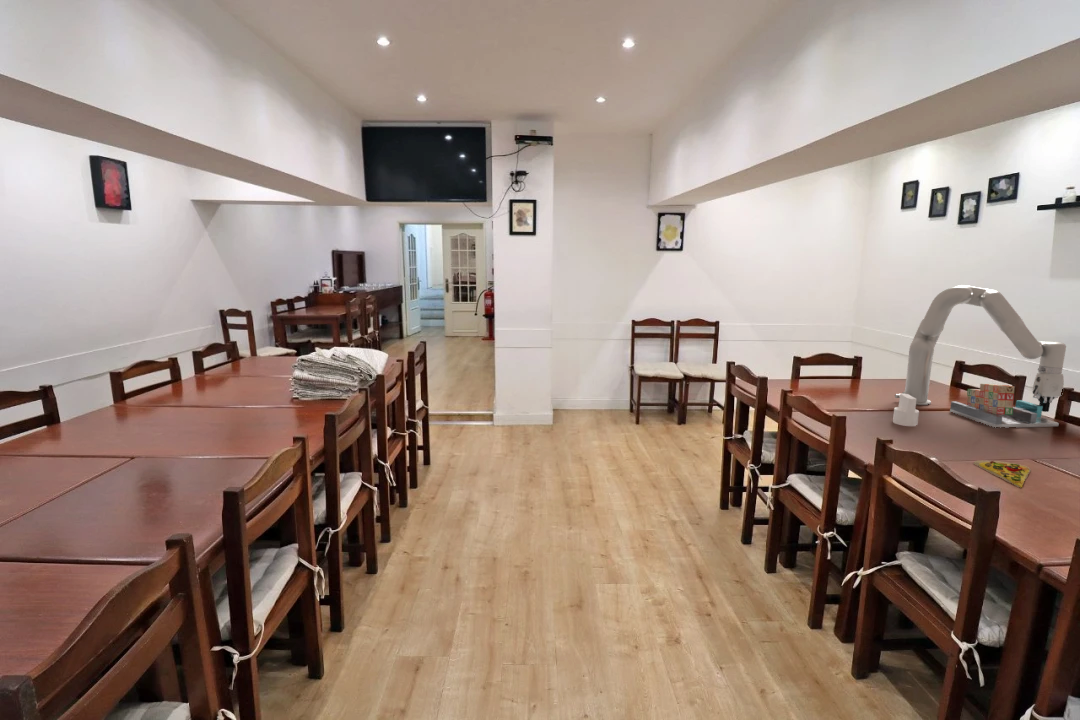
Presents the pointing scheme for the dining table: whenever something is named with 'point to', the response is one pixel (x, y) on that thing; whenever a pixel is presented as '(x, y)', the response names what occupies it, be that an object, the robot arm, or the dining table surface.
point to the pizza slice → (1006, 471)
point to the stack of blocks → (992, 398)
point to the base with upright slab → (906, 411)
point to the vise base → (1014, 421)
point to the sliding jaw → (1026, 411)
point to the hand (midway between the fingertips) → (1043, 410)
